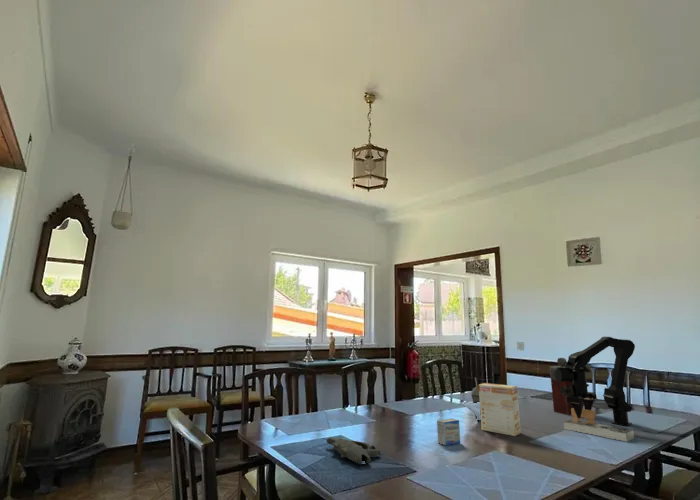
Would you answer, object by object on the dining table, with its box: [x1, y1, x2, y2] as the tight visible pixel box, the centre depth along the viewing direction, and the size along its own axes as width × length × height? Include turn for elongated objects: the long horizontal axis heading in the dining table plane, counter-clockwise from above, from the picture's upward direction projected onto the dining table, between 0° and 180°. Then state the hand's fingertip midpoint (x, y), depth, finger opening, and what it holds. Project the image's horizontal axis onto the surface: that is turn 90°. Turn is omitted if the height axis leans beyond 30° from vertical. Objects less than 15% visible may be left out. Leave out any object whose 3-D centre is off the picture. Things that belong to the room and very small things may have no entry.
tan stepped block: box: [570, 408, 597, 423], centre depth 181 cm, size 4×9×6 cm, turn 37°
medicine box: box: [436, 418, 461, 447], centre depth 155 cm, size 8×4×9 cm, turn 117°
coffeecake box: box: [478, 382, 522, 437], centre depth 172 cm, size 15×7×20 cm, turn 47°
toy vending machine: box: [549, 357, 573, 416], centre depth 208 cm, size 9×11×28 cm
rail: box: [563, 418, 635, 443], centre depth 167 cm, size 8×24×3 cm, turn 37°
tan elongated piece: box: [326, 436, 382, 465], centre depth 142 cm, size 5×25×15 cm
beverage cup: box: [470, 377, 480, 420], centre depth 192 cm, size 7×7×20 cm
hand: (583, 416), depth 181 cm, fingers open, 9 cm apart
